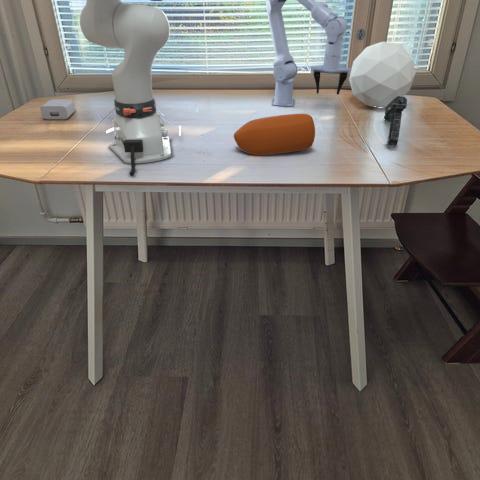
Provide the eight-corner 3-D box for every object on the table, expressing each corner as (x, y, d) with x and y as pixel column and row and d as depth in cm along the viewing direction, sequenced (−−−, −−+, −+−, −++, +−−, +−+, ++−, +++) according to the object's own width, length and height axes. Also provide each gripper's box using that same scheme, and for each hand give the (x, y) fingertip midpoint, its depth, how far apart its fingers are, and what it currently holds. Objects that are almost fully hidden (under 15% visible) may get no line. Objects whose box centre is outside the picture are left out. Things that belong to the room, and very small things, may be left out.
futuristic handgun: (389, 146, 153) (397, 104, 149) (399, 145, 125) (409, 94, 122) (379, 144, 154) (386, 103, 150) (386, 144, 126) (395, 93, 122)
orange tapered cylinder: (237, 164, 122) (319, 153, 123) (234, 130, 116) (319, 118, 117) (233, 149, 132) (309, 139, 133) (230, 116, 126) (309, 106, 127)
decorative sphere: (334, 74, 174) (357, 27, 150) (388, 72, 178) (419, 26, 154) (346, 121, 167) (373, 80, 143) (402, 118, 171) (437, 78, 147)
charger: (80, 107, 160) (68, 119, 148) (56, 106, 160) (42, 119, 148) (77, 94, 158) (65, 106, 145) (53, 94, 157) (39, 106, 145)
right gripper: (312, 56, 146) (308, 95, 154) (353, 58, 144) (347, 97, 152) (312, 52, 152) (308, 90, 159) (352, 54, 150) (346, 92, 158)
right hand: (327, 93), depth 156 cm, fingers open, 7 cm apart
